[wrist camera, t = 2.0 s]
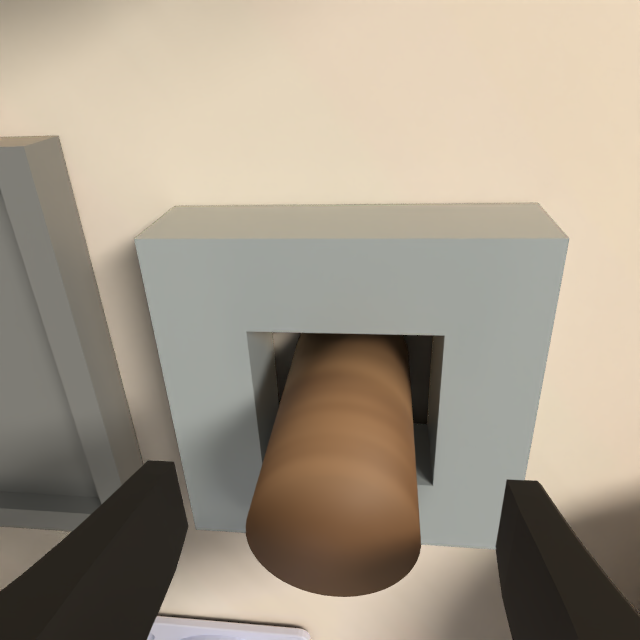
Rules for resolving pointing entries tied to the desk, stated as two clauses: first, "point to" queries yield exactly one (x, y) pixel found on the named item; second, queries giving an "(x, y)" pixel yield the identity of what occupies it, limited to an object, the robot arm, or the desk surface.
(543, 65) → the desk surface
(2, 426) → the tray
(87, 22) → the desk surface
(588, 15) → the desk surface
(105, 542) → the robot arm
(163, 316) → the square hole block
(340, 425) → the dowel
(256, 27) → the desk surface
